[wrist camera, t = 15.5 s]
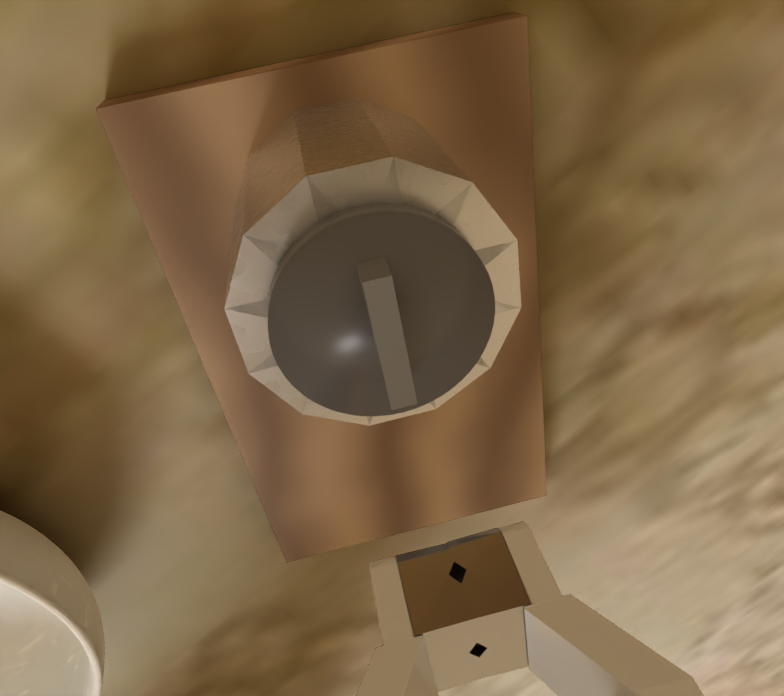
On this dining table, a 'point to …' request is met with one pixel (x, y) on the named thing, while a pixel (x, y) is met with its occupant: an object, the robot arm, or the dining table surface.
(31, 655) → the serving bowl
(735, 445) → the dining table surface
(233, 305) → the white cylinder
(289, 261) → the control knob
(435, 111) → the walnut board
